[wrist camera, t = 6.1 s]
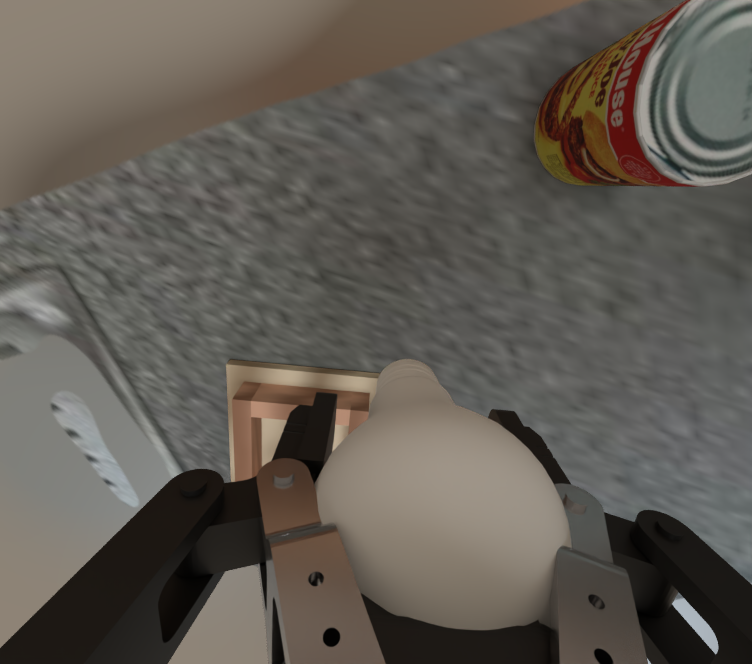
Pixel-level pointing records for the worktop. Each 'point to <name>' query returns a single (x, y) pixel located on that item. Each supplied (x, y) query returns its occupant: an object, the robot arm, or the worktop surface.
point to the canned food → (657, 104)
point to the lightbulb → (443, 509)
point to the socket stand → (285, 406)
